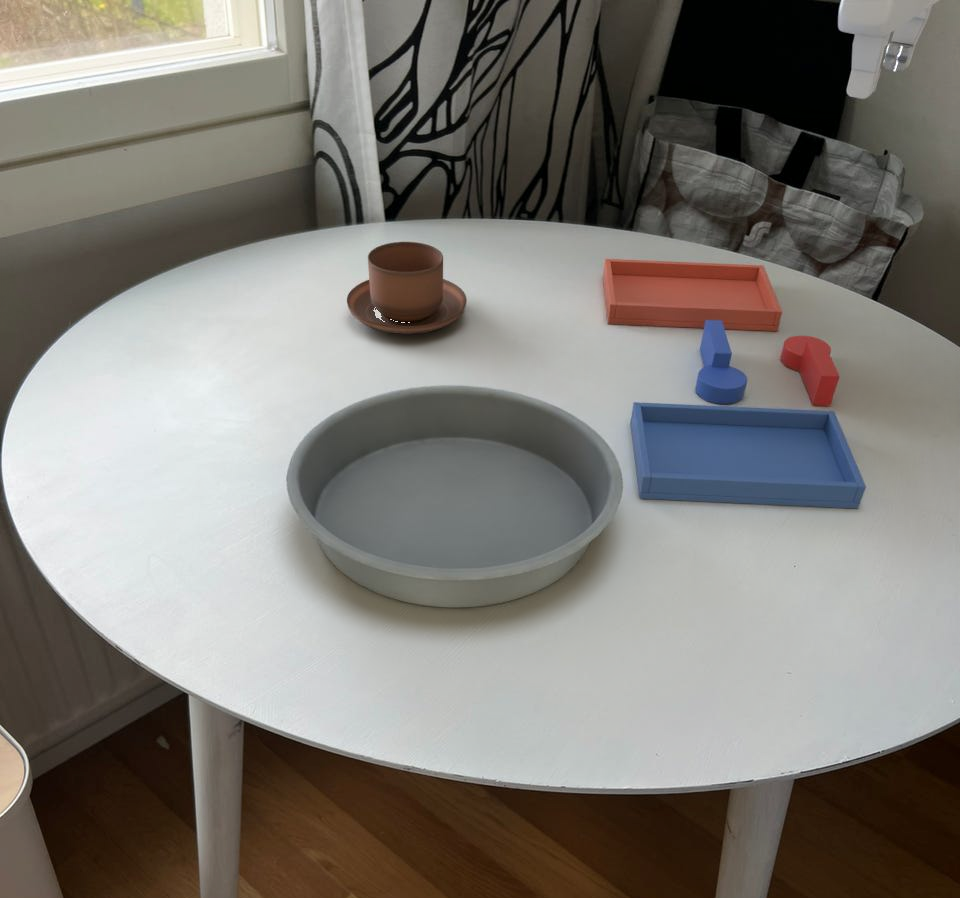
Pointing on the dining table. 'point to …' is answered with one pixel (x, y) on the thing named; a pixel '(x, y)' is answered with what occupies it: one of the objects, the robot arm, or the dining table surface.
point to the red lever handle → (812, 366)
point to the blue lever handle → (718, 368)
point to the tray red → (689, 294)
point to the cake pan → (454, 493)
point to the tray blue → (743, 456)
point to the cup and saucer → (406, 290)
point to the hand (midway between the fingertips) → (877, 82)
